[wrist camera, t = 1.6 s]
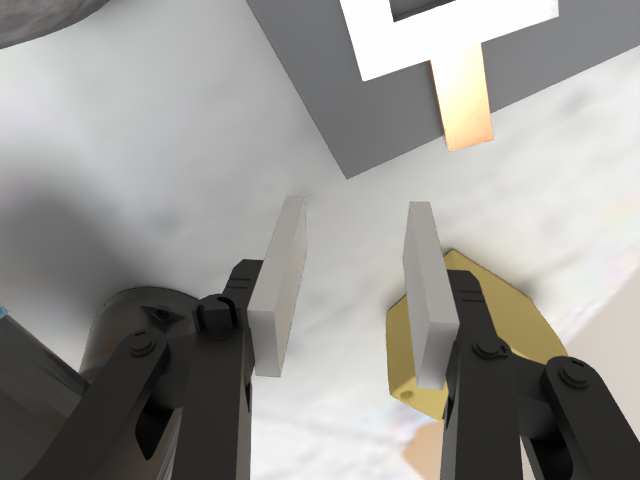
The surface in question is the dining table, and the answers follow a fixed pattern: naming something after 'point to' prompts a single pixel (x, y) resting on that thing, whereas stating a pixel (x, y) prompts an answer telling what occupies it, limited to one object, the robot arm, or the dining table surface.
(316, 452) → the dining table surface
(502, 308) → the cheese
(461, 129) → the handled square frame
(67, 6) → the vase
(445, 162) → the dining table surface
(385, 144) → the jig
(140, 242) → the dining table surface
